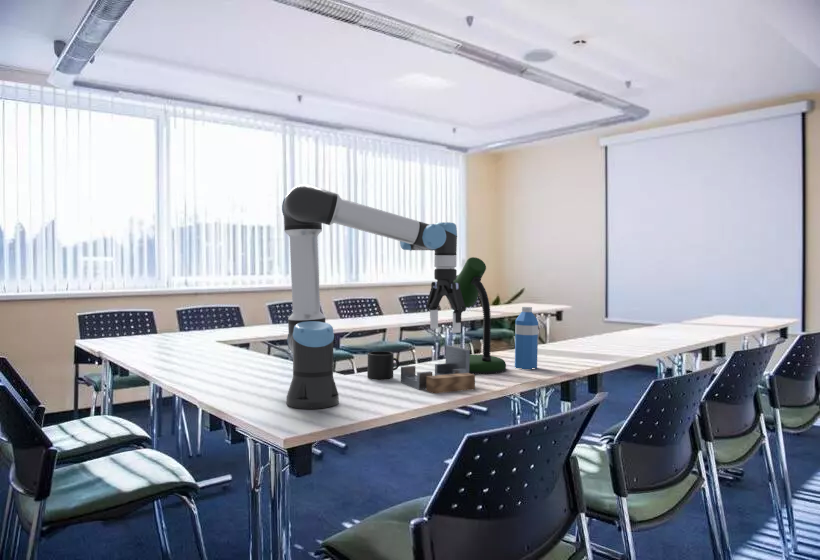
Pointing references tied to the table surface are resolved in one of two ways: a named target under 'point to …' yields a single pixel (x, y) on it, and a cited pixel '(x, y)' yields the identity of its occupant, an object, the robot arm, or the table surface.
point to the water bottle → (526, 339)
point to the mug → (381, 365)
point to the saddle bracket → (414, 377)
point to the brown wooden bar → (450, 382)
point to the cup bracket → (454, 361)
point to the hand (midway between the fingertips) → (445, 330)
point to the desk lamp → (470, 290)
